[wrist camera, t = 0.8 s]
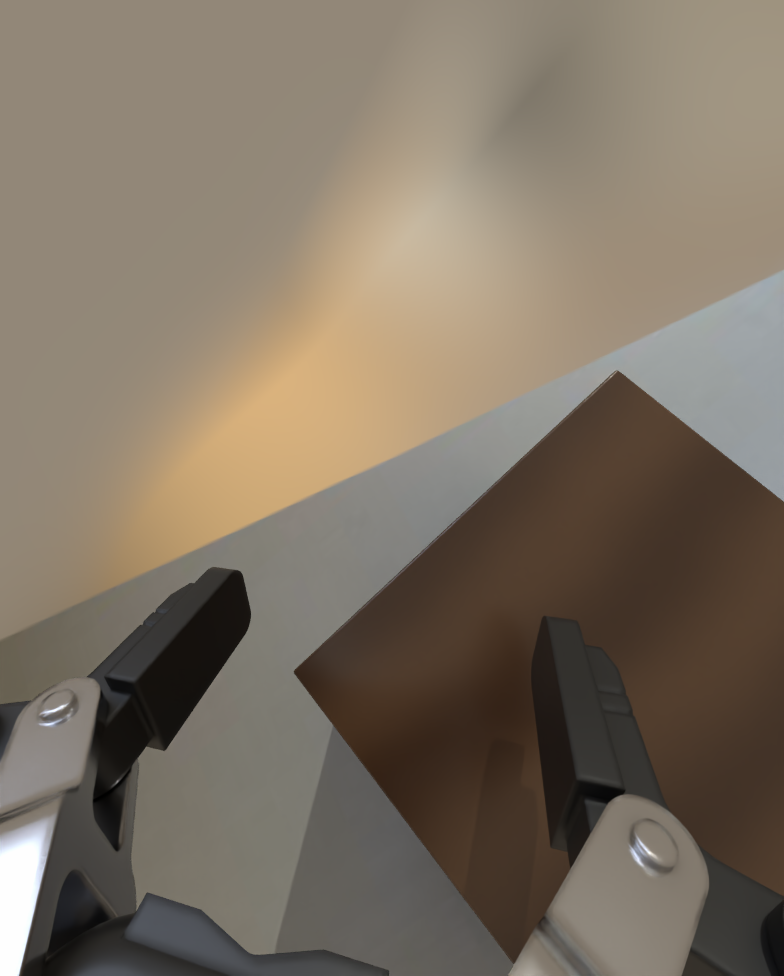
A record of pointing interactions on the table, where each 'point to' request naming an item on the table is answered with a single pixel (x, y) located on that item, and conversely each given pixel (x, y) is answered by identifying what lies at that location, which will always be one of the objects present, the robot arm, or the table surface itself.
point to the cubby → (604, 623)
